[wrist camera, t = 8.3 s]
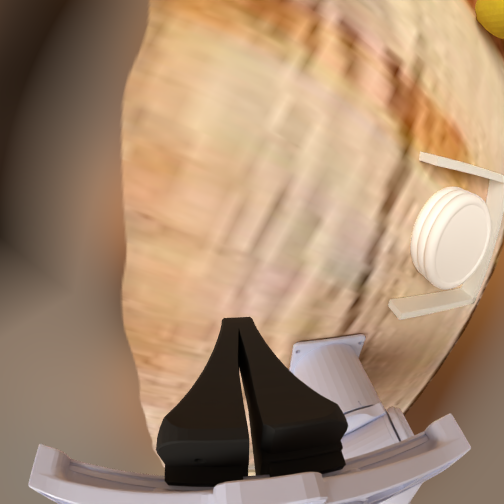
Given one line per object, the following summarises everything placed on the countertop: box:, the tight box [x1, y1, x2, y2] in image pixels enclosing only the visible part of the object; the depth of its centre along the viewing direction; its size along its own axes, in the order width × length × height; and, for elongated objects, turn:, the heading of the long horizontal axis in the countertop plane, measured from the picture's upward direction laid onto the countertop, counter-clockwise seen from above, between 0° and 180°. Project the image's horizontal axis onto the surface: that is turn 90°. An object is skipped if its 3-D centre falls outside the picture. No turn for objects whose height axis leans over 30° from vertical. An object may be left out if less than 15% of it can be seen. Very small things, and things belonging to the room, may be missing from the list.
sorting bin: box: [388, 152, 504, 320], centre depth 22 cm, size 16×13×2 cm
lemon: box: [475, 0, 504, 39], centre depth 9 cm, size 6×6×8 cm
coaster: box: [410, 186, 491, 290], centre depth 22 cm, size 10×10×4 cm
